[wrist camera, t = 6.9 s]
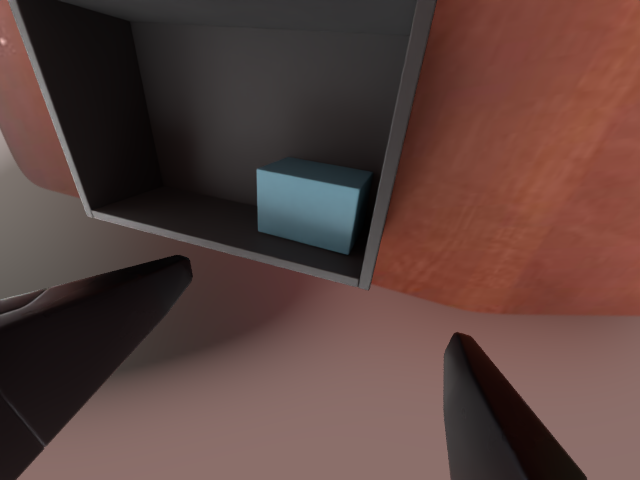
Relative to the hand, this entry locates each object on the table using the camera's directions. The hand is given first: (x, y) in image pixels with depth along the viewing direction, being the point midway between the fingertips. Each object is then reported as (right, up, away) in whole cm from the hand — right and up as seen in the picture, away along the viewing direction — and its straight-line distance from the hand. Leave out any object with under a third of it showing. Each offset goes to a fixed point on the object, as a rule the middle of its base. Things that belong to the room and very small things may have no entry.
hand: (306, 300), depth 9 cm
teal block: (+3, +4, +7) cm, 9 cm away
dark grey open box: (-4, +10, +10) cm, 14 cm away
